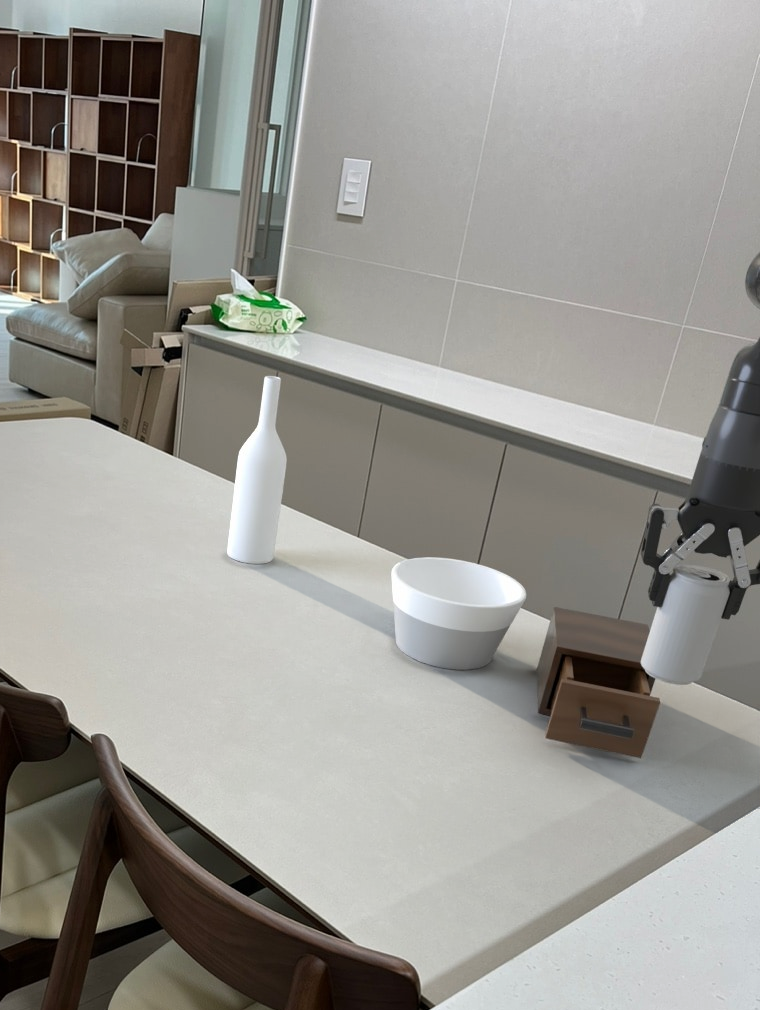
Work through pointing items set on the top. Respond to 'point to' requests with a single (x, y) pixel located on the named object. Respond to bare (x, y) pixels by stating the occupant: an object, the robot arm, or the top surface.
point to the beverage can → (685, 624)
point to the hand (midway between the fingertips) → (689, 610)
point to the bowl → (452, 611)
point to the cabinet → (588, 646)
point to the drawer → (601, 706)
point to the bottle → (259, 486)
